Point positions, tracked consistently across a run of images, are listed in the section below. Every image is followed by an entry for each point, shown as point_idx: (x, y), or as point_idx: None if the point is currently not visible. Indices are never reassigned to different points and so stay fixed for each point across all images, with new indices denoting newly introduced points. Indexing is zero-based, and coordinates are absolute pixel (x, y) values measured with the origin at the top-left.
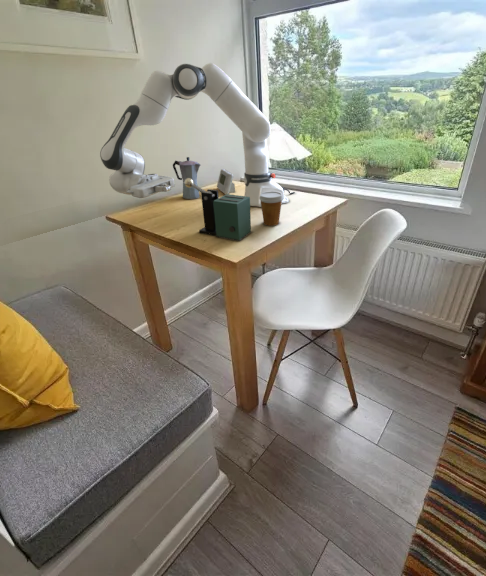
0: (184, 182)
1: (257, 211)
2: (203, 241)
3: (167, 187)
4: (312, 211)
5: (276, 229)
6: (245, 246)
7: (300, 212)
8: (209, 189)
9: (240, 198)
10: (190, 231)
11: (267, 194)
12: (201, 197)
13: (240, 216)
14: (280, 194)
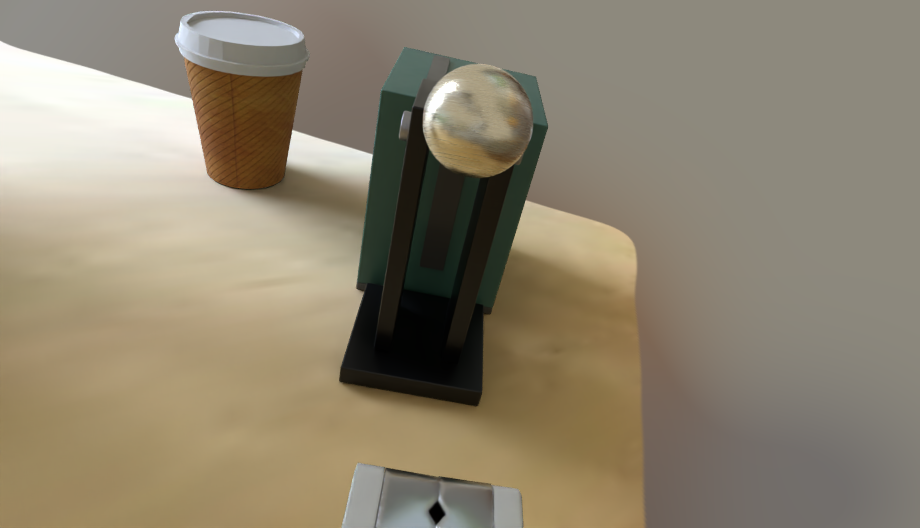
0: (518, 136)
1: (9, 214)
2: (569, 352)
3: (458, 482)
4: (76, 83)
5: (323, 163)
6: (522, 222)
7: (83, 105)
8: (421, 102)
9: (449, 64)
10: (475, 474)
11: (226, 36)
12: (512, 169)
13: None
14: (228, 17)
